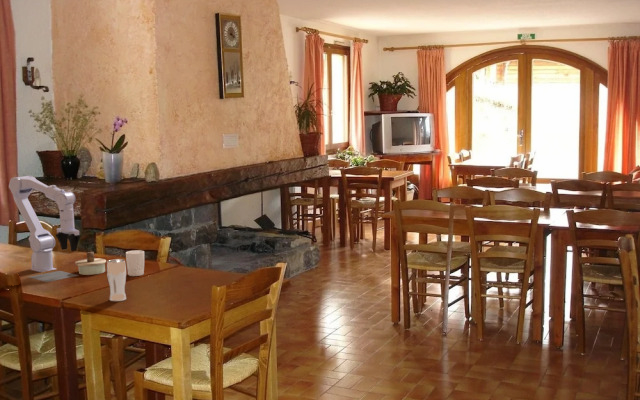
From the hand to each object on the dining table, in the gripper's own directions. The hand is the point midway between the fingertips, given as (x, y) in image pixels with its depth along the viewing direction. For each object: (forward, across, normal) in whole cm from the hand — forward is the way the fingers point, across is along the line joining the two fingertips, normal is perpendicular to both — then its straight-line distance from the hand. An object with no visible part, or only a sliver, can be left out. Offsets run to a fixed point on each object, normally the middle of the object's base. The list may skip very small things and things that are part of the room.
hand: (69, 250), depth 315 cm
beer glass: (+11, +54, -14) cm, 57 cm away
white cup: (+11, +26, +16) cm, 32 cm away
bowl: (+10, +8, +6) cm, 14 cm away
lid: (+6, +8, +5) cm, 11 cm away
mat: (+10, +2, -9) cm, 14 cm away
